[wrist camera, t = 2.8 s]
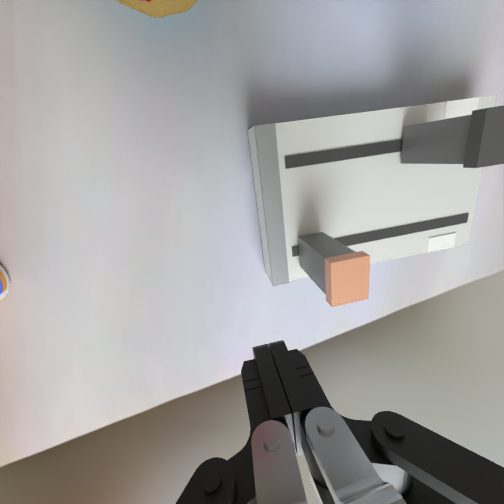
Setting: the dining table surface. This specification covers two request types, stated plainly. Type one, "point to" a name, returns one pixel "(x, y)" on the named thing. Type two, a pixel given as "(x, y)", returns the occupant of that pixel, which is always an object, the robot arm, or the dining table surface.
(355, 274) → the terracotta fader
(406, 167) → the console
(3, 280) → the pill bottle
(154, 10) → the cupcake
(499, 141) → the black fader
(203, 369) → the dining table surface
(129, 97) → the dining table surface
